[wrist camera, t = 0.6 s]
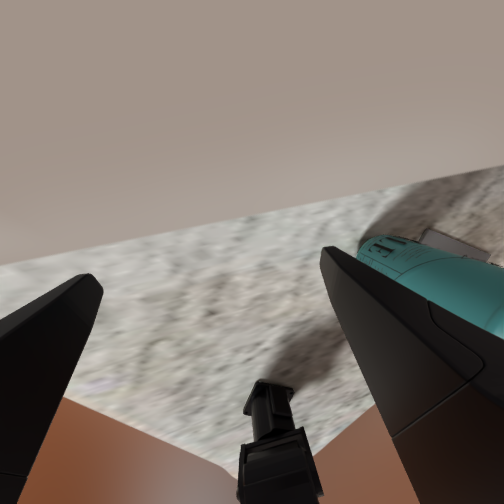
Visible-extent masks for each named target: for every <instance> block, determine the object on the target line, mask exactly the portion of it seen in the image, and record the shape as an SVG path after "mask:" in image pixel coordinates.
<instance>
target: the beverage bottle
mask: <svg viewBox="0 0 504 504" xmlns="http://www.w3.org/2000/svg"><path fill="white" fill-rule="evenodd" d="M405 239H406V238H402V239H401V237H400V236H398V237H396V235H395V236H391V235H386V234H385V235H380V236H376V237H373V238H371V239H369V240H368V241H367V242H365V243H364V244H363V245H362V247H361V248H360V250H359V251H358V254H357V257H356V259H358V260H359V261H361V262H363V263H365V264H367V265H368V266H370V267H372V268H374V269H375V270H377V271H379V272H381V273H382V274H384V275H386V276H388V277H390V278H391V279H393V280H395V281H397V282H398V283H400V284H402V285H404V286H405V287H407V288H409V289H411V290H413V291H414V292H416V293H418V294H420V295H421V296H423V297H425V298H426V299H427V300H430V301H432V302H434V303H436V304H437V305H439V306H441V307H443V308H445V309H446V310H448V311H450V312H452V313H454V314H456V315H457V316H459V317H461V318H463V319H465V320H467V321H469V322H471V323H473V324H475V325H476V326H478V327H480V328H482V329H484V330H486V331H488V332H490V333H492V334H494V335H496V336H498V337H500V338H502V339H504V268H501V267H502V266H500V267H498V266H499V265H496V264H495V265H496V266H495V265H494V264H493V263H491V264H492V265H491V264H488V263H487V262H486V263H485V262H483V260H482V261H479V259H477V260H474V259H473V258H472V257H471V258H472V259H471V258H467V255H466V257H464V256H465V255H464V256H460V255H457V254H454V253H450V252H447V251H444V250H442V249H441V250H440V249H436V248H433V247H429V246H426V245H427V244H421V243H418V242H417V241H414V240H410V241H408V240H409V239H406V240H405ZM412 241H413V242H412ZM415 242H416V243H415ZM475 259H476V258H475ZM480 260H481V259H480ZM484 261H485V260H484ZM489 263H490V262H489Z"/></svg>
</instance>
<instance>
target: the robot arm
mask: <svg viewBox="0 0 504 504" xmlns="http://www.w3.org/2000/svg"><path fill="white" fill-rule="evenodd" d="M320 270H321V273H322V276H323V279H324V283H325V286H326V289H327V292H328V295H329V299H330V302H331V304H332V307H333V309H334V311H335V313H336V316H337V318H338V320H339V322H340V325H341V327H342V329H343V331H344V334H345V336H346V338H347V340H348V343H349V345H350V347H351V349H352V351H353V354H354V356H355V358H356V360H357V363H358V365H359V367H360V369H361V372H362V374H363V376H364V378H365V381H366V383H367V385H368V387H369V390H370V392H371V394H372V396H373V398H374V401H375V403H376V405H377V407H378V410H379V412H380V414H381V416H382V418H383V421H384V423H385V425H386V428H387V430H388V432H389V434H390V436H391V437H392V441H393V444H394V446H395V448H396V450H397V452H398V455H399V457H400V459H401V461H402V464H403V466H404V468H405V471H406V473H407V475H408V477H409V479H410V482H411V484H412V486H413V488H414V491H415V493H416V495H417V497H418V500H419V502H420V504H504V339H502V338H500V337H498V336H496V335H494V334H492V333H490V332H488V331H486V330H484V329H482V328H480V327H478V326H476V325H475V324H473V323H471V322H469V321H467V320H465V319H463V318H461V317H459V316H457V315H456V314H454V313H452V312H450V311H448V310H446V309H445V308H443V307H441V306H439V305H437V304H436V303H434V302H432V301H430V300H427V299H426V298H425V297H423V296H421V295H420V294H418V293H416V292H414V291H413V290H411V289H409V288H407V287H405V286H404V285H402V284H400V283H398V282H397V281H395V280H393V279H391V278H390V277H388V276H386V275H384V274H382V273H381V272H379V271H377V270H375V269H374V268H372V267H370V266H368V265H367V264H365V263H363V262H361V261H359V260H358V259H356V258H354V257H352V256H351V255H349V254H347V253H345V252H343V251H342V250H340V249H338V248H336V247H334V246H328V247H323V248H322V251H321V258H320ZM103 292H104V291H103V287H102V286H101V285H100V283H99V282H98V281H97V280H96V278H95V277H94V276H93V275H92V274H89V273H87V274H79V275H77V276H75V277H73V278H71V279H70V280H68V281H66V282H64V283H63V284H61V285H59V286H58V287H56V288H54V289H52V290H51V291H49V292H47V293H46V294H44V295H42V296H40V297H39V298H37V299H35V300H33V301H32V302H30V303H28V304H27V305H25V306H23V307H21V308H20V309H18V310H16V311H15V312H13V313H11V314H9V315H8V316H6V317H4V318H2V319H1V320H0V504H17V502H18V499H19V497H20V495H21V493H22V490H23V488H24V486H25V483H26V481H27V479H28V478H27V476H28V475H29V473H30V471H31V469H32V467H33V464H34V462H35V460H36V457H37V455H38V453H39V450H40V448H41V446H42V443H43V441H44V439H45V436H46V434H47V432H48V430H49V427H50V425H51V423H52V420H53V418H54V416H55V414H56V411H57V409H58V407H59V404H60V402H61V400H62V397H63V395H64V393H65V390H66V388H67V386H68V384H69V381H70V379H71V377H72V374H73V372H74V370H75V367H76V365H77V363H78V361H79V358H80V356H81V354H82V351H83V349H84V347H85V344H86V342H87V340H88V337H89V335H90V333H91V330H92V328H93V325H94V322H95V318H96V315H97V312H98V309H99V306H100V303H101V300H102V296H103ZM293 395H294V390H293V389H292V388H287V387H282V386H277V385H272V384H267V383H261V382H257V383H256V384H255V385H254V388H253V390H252V392H251V394H250V396H249V398H248V401H247V403H246V405H245V407H244V409H243V414H244V415H248V416H252V426H253V437H254V442H252V443H249V444H242V445H241V452H240V457H239V472H238V487H237V492H236V494H237V499H238V501H239V502H240V503H241V504H319V500H318V497H321V496H324V493H323V490H322V486H321V483H320V480H319V476H318V473H317V470H316V466H315V463H314V460H313V456H312V453H311V450H310V446H309V443H308V440H307V437H306V433H305V430H304V427H303V426H302V427H300V428H299V429H295V425H294V421H293V417H292V416H293V415H292V411H291V407H290V404H289V402H290V401H291V399H292V397H293Z"/></svg>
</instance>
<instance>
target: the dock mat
mask: <svg viewBox="0 0 504 504" xmlns="http://www.w3.org/2000/svg"><path fill="white" fill-rule="evenodd" d="M418 243H421V244H427V245H426V246H429V247H433V248H436V249H440V250H441V249H442V250H444V251H447V252H450V253H454V254H457V255H460V256H464V255H465V256H464V257H466V255H467V258H471V257H472V258H473V259H474V260H477V259H479V261H482V260H483V262H485V263H486V261H487V260H488V259H489V257H490V256H491V255H490V254H488V253H486V252H483V251H481V250H478V249H476V248H474V247H471V246H469V245H466V244H464V243H462V242H459V241H457V240H454V239H452V238H450V237H447V236H445V235H442V234H440V233H438V232H435V231H433V230H430V229H427V228H426V230H425V232H424V233H423V235H422V237H421V238H420V240H419V242H418ZM472 258H471V259H472ZM475 258H476V259H475ZM480 259H481V260H480ZM484 260H485V261H484Z"/></svg>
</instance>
